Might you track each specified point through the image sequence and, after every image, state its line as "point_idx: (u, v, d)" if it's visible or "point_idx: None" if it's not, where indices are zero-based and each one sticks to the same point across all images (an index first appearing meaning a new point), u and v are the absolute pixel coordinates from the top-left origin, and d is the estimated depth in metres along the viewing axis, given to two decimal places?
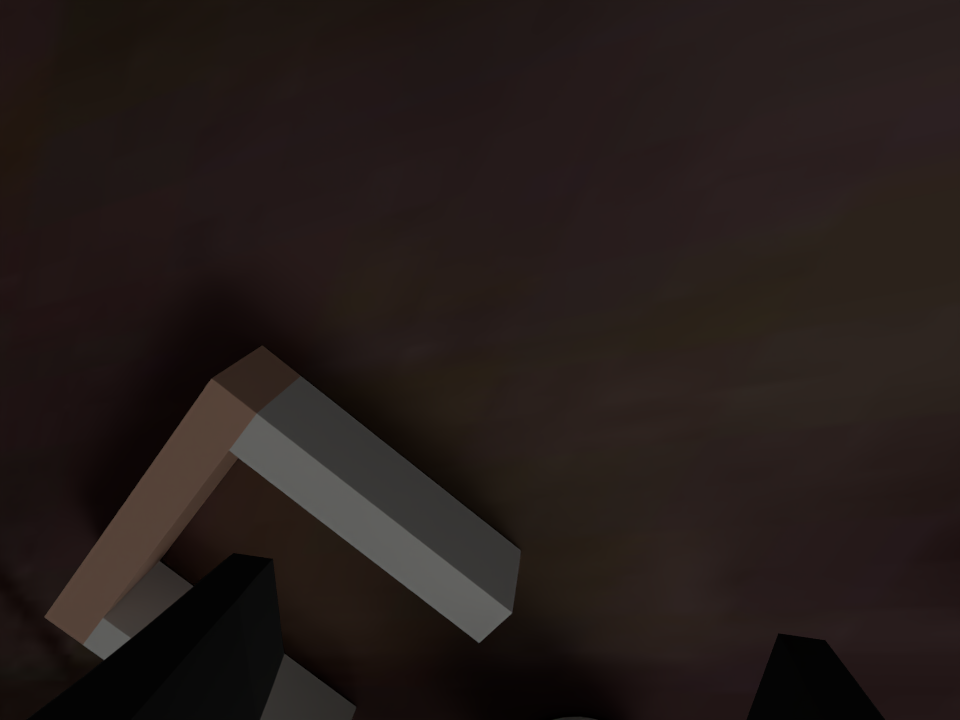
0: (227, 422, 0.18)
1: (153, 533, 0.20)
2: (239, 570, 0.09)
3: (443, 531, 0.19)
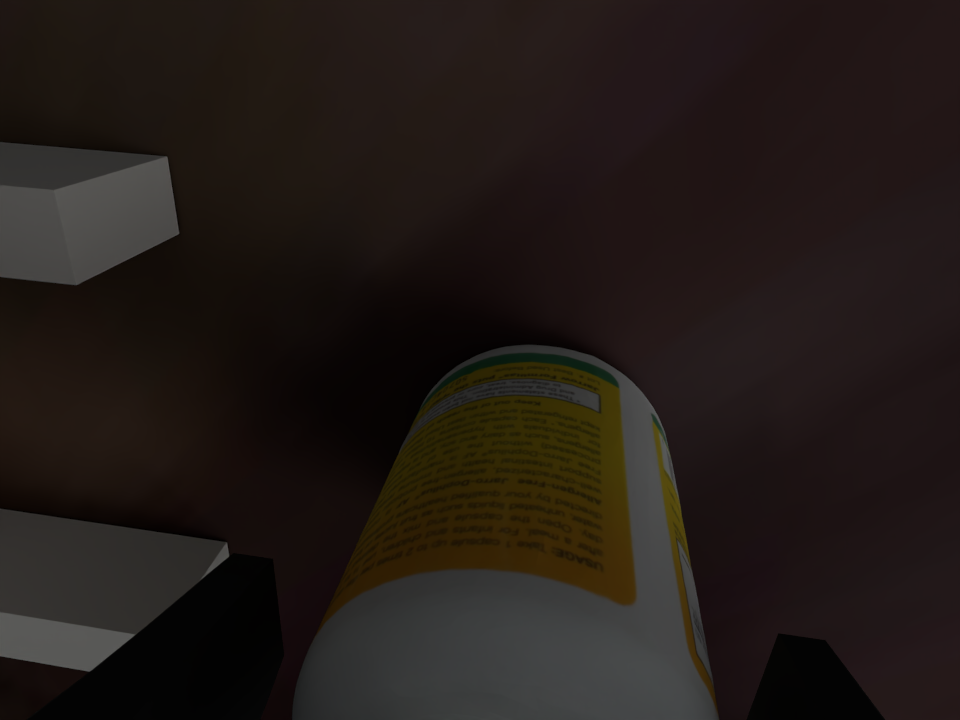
0: None
1: None
2: (240, 569, 0.09)
3: None
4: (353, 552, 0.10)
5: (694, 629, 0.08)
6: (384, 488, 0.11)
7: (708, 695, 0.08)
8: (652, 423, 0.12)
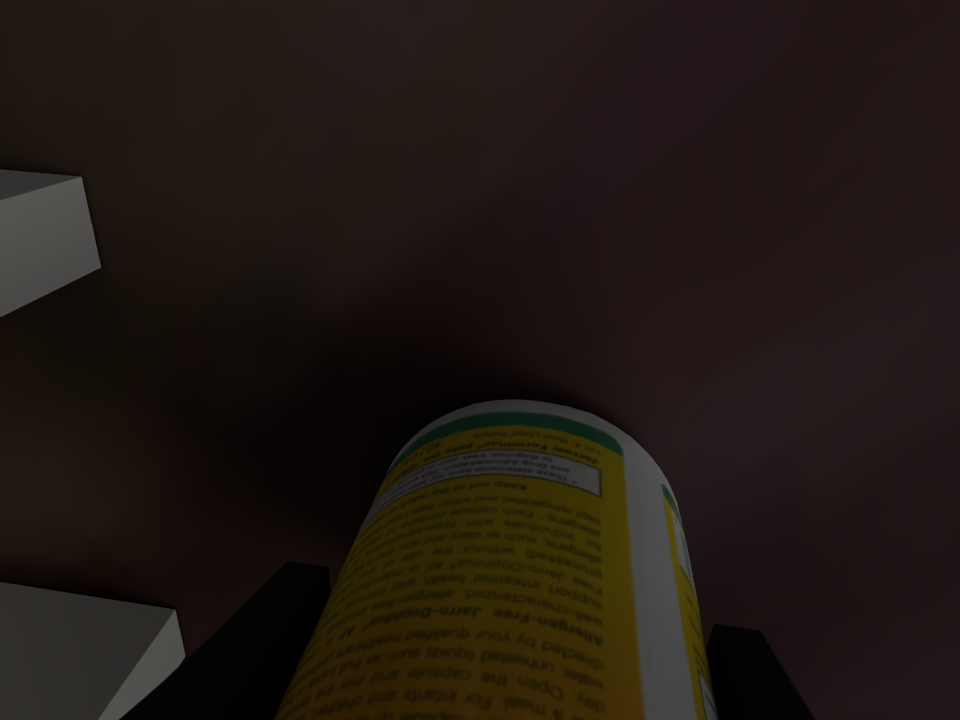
0: None
1: None
2: (298, 578, 0.09)
3: None
4: None
5: None
6: (333, 592, 0.09)
7: None
8: (663, 499, 0.10)
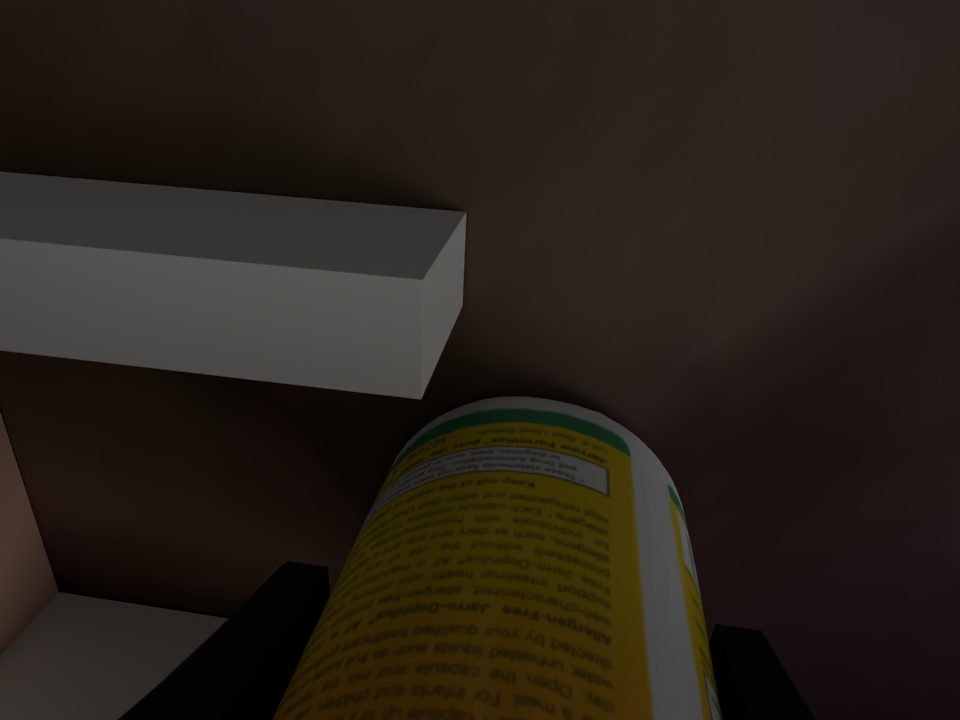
0: None
1: None
2: (297, 578, 0.09)
3: (226, 229, 0.08)
4: (290, 680, 0.08)
5: None
6: (337, 585, 0.09)
7: None
8: (669, 500, 0.10)
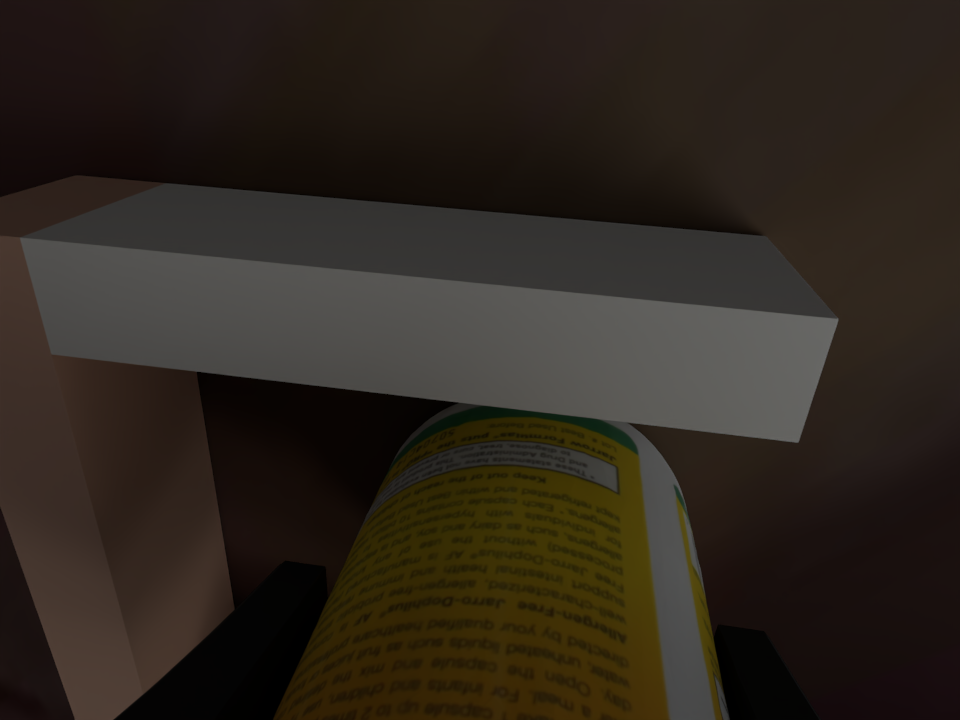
0: (0, 297, 0.08)
1: (95, 585, 0.10)
2: (295, 577, 0.09)
3: (564, 258, 0.08)
4: (296, 671, 0.07)
5: None
6: (343, 577, 0.08)
7: None
8: (676, 500, 0.10)
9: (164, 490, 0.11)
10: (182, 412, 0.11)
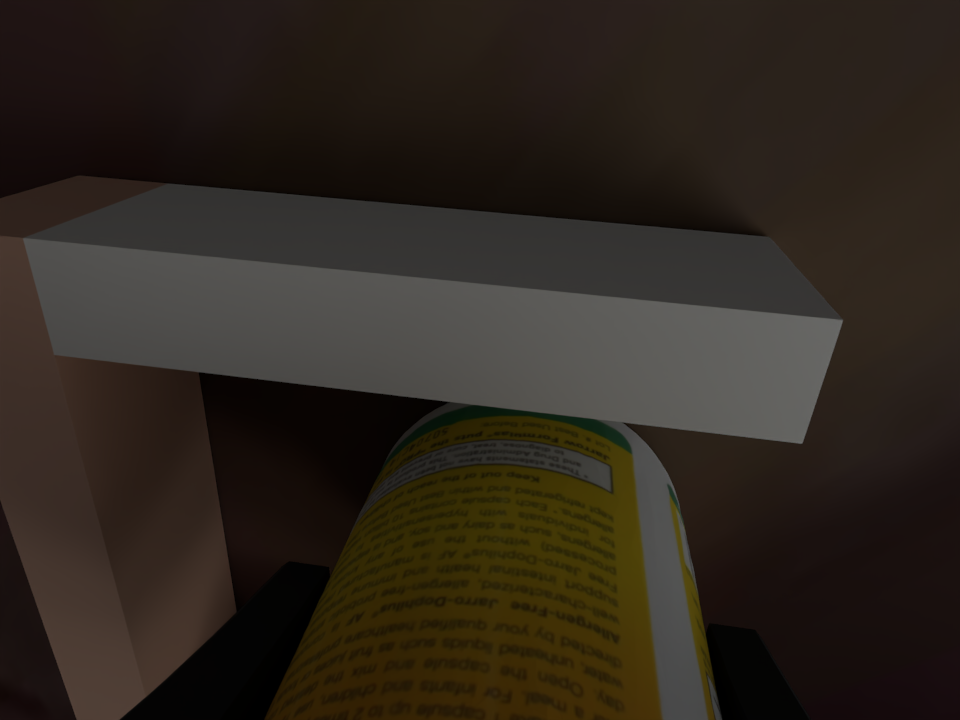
0: (3, 297, 0.08)
1: (97, 585, 0.10)
2: (298, 577, 0.09)
3: (568, 259, 0.08)
4: (287, 671, 0.07)
5: None
6: (335, 576, 0.08)
7: None
8: (669, 499, 0.10)
9: (166, 490, 0.11)
10: (184, 412, 0.11)
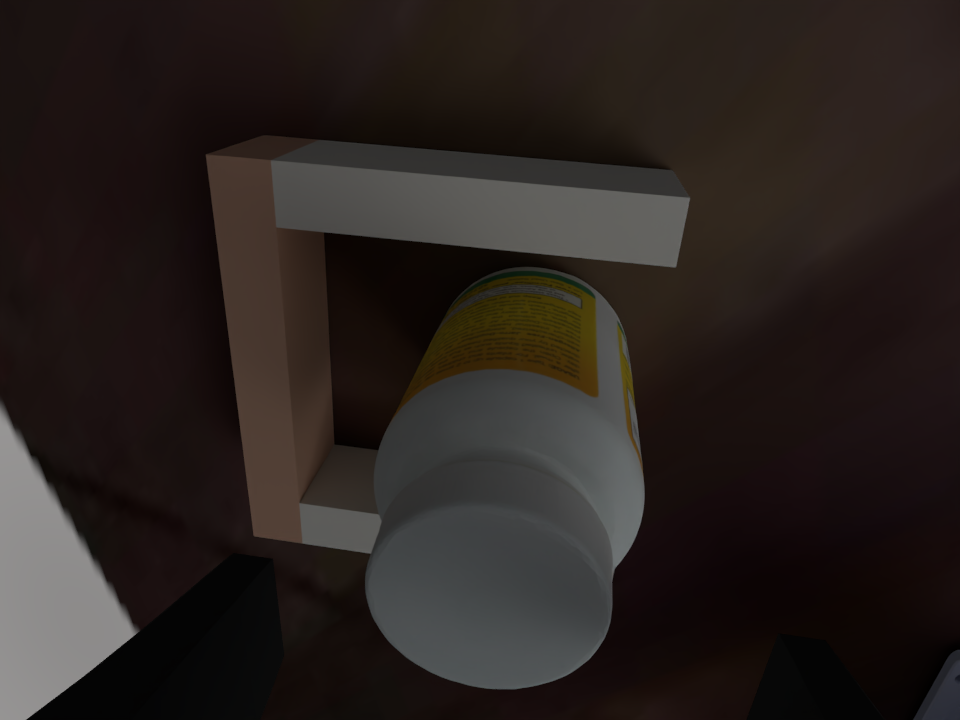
0: (253, 194, 0.15)
1: (276, 378, 0.17)
2: (240, 569, 0.09)
3: (556, 175, 0.15)
4: (410, 383, 0.14)
5: (632, 427, 0.13)
6: (429, 349, 0.15)
7: (637, 457, 0.12)
8: (617, 325, 0.17)
9: (309, 331, 0.18)
10: (318, 285, 0.18)
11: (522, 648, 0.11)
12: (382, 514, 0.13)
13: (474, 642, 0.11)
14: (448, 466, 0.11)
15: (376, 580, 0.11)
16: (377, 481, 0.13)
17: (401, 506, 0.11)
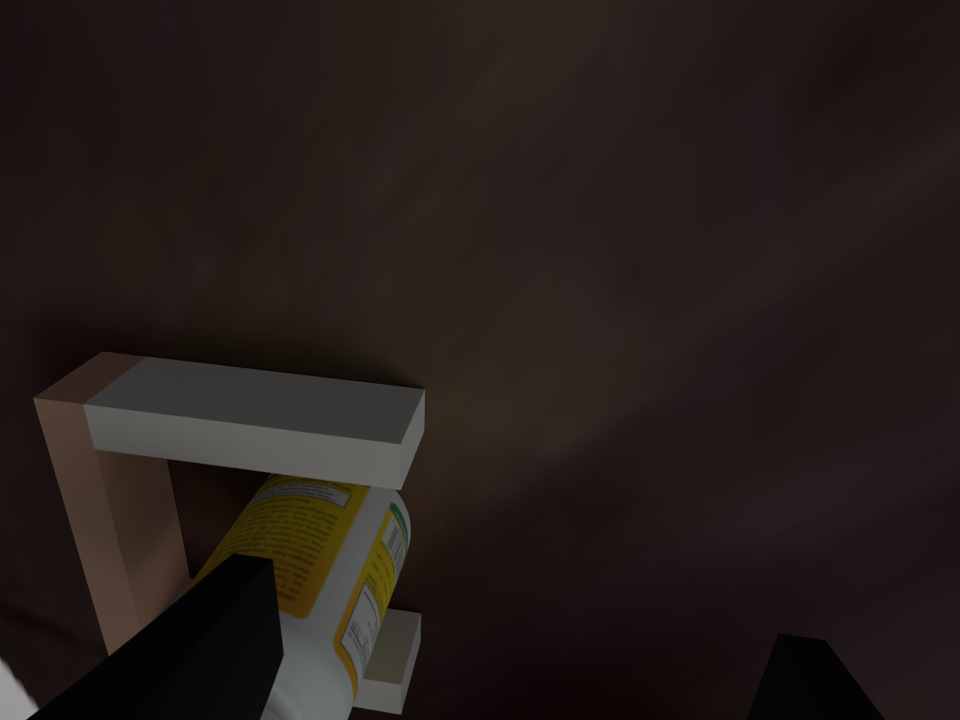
0: (73, 426, 0.19)
1: (111, 552, 0.21)
2: (240, 569, 0.09)
3: (313, 410, 0.19)
4: None
5: (347, 630, 0.17)
6: (219, 544, 0.19)
7: (339, 661, 0.16)
8: (387, 510, 0.21)
9: (146, 506, 0.22)
10: (156, 465, 0.22)
11: None
12: None
13: None
14: None
15: None
16: None
17: None
